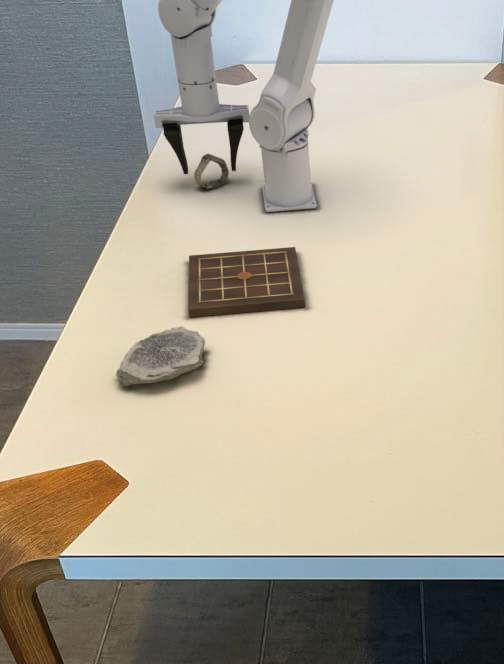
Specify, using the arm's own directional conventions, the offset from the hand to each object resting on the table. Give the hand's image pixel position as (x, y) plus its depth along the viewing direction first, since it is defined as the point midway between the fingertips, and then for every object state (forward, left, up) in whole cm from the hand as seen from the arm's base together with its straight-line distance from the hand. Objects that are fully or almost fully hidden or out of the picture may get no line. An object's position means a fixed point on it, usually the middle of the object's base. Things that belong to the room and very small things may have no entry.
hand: (210, 170), depth 139 cm
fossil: (+53, -6, -3) cm, 53 cm away
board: (+34, +4, -3) cm, 34 cm away
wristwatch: (0, 0, -3) cm, 3 cm away
